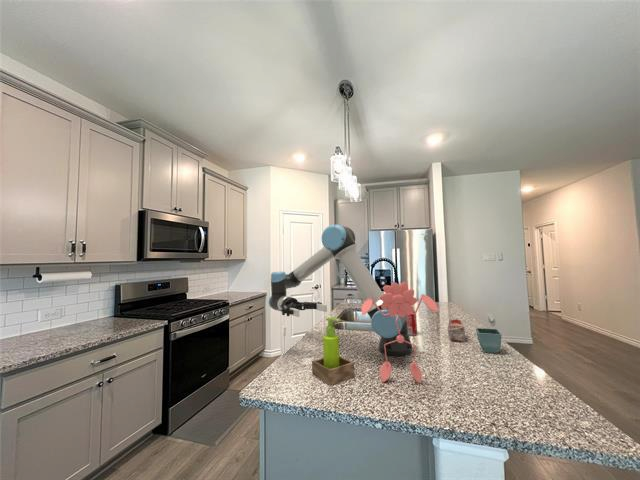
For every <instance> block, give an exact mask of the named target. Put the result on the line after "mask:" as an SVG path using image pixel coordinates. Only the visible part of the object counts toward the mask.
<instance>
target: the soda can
mask: <svg viewBox="0 0 640 480" xmlns="http://www.w3.org/2000/svg"><path fill="white" fill-rule="evenodd" d="M415 311H416V309H414V312H412V313H415ZM407 326H408V336H409V337H410V336H413V337H414V336H417V334H418V325H417V313H415V314H407Z"/></svg>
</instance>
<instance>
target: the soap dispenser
mask: <svg viewBox="0 0 640 480" xmlns="http://www.w3.org/2000/svg"><path fill="white" fill-rule="evenodd" d="M325 321H327V326H326V327H325V333H326V334H325V335H323V336H322V343H323V345H322V347H323V350H322V352H323V354H322V355H323V356H322V357H323V358H324V366H325V367H327V368H328V369H333V368H336V367H339V356H340V345H339V344H340V343H339V340H340V339H339V338H340V337H339V335H337V334H336V326H334V324H333V321H334V322H337V323H338V322H341V319H340V318H336V317H327V318H325Z"/></svg>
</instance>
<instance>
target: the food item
mask: <svg viewBox="0 0 640 480" xmlns="http://www.w3.org/2000/svg"><path fill="white" fill-rule="evenodd" d="M447 333H448V337H449V339H450V340H451V341H452V342H458V343H465V339H466V330H465V325H464V324H463V321H462V320H460V319H457V318H455V319H450V320H449V322H448V324H447Z"/></svg>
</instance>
